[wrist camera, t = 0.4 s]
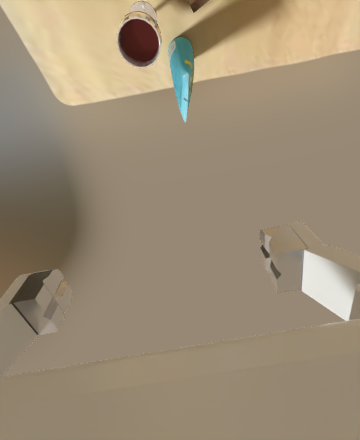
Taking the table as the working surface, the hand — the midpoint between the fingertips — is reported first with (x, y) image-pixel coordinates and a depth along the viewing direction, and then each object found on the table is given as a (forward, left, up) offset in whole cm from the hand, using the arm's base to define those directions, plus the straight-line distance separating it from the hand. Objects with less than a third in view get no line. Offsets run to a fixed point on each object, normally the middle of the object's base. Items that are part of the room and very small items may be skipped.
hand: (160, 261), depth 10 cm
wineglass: (+2, -6, -51) cm, 52 cm away
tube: (+10, -3, -51) cm, 52 cm away
